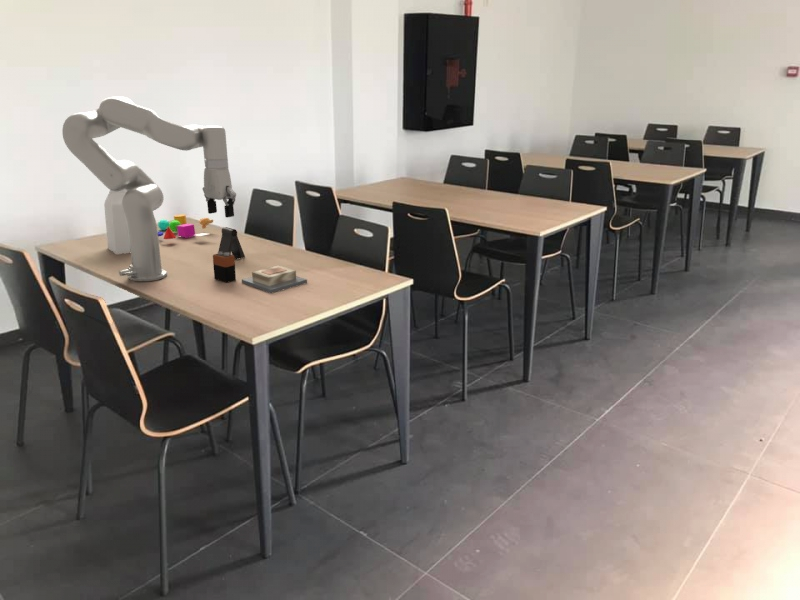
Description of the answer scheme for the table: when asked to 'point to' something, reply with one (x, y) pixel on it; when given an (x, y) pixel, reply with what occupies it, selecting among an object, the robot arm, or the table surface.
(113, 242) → the milk
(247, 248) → the table surface
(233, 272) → the battery
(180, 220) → the shape set
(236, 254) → the phone stand
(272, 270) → the plinth
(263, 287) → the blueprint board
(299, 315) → the table surface
